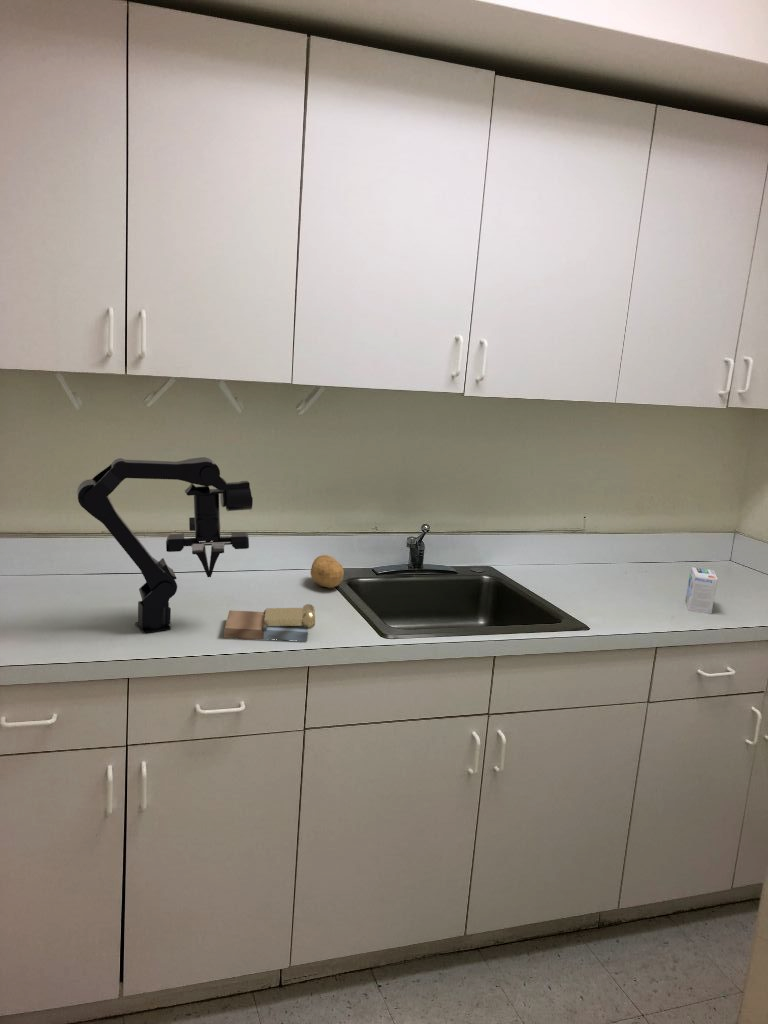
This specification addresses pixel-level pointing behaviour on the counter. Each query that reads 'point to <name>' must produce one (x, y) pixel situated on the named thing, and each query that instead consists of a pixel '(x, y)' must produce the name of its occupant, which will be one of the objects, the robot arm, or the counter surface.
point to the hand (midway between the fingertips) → (209, 576)
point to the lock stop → (291, 616)
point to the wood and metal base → (259, 627)
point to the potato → (327, 571)
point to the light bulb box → (701, 590)
